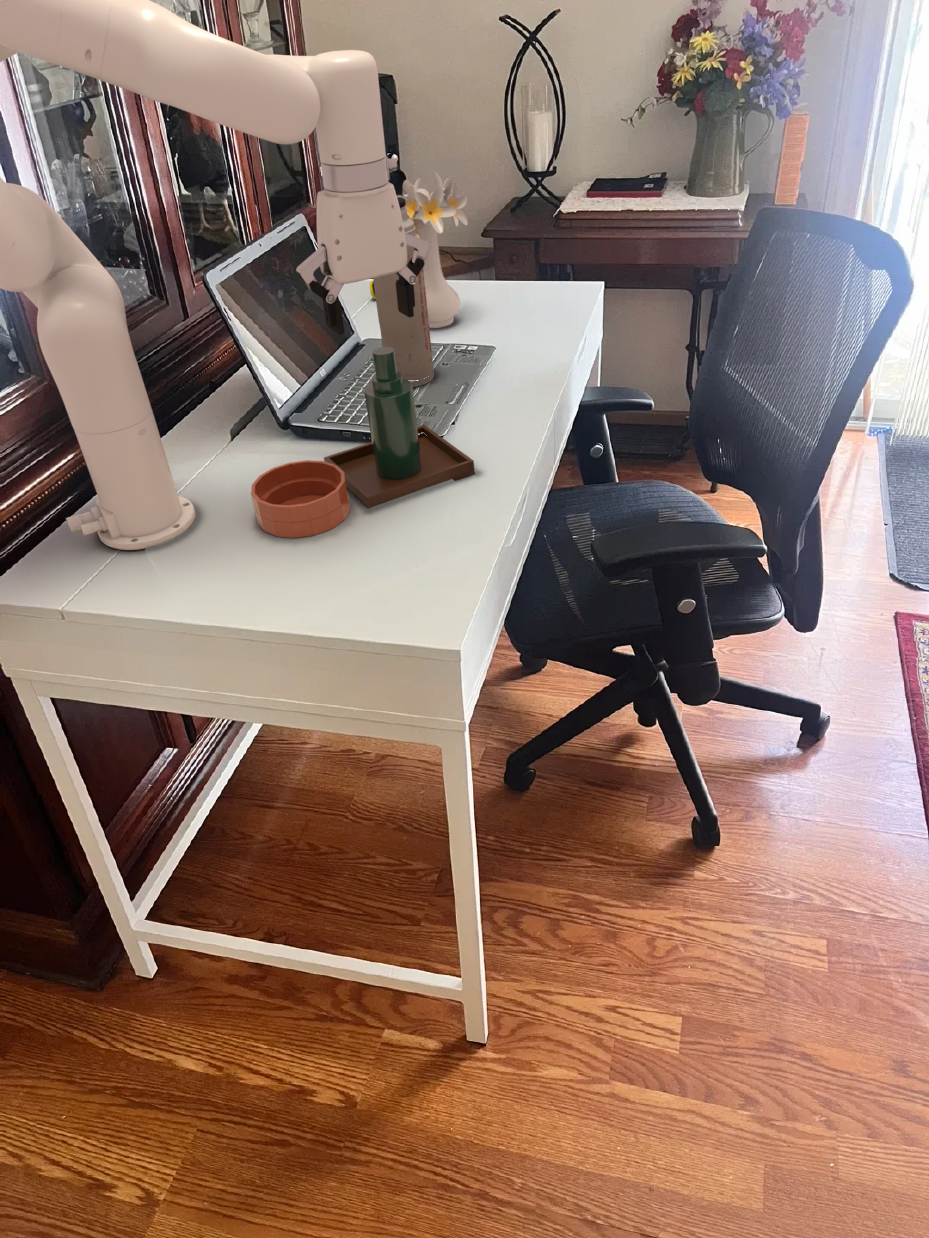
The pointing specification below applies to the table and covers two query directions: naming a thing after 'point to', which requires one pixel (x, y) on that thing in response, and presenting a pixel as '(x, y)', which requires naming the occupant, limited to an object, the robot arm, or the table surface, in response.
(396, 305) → the thermos bottle
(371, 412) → the bottle
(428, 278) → the flower vase
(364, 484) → the tray
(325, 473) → the bowl
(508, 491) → the table surface
